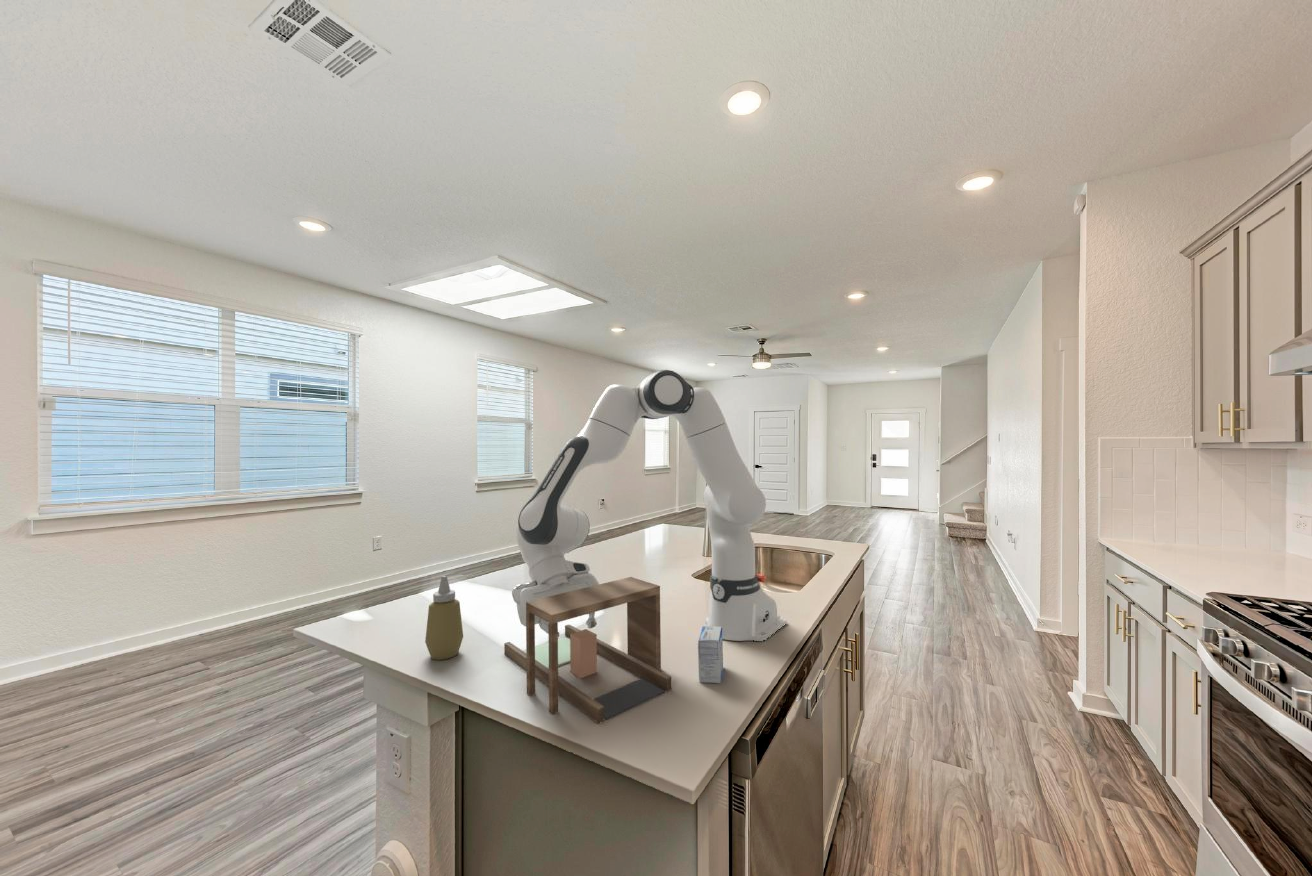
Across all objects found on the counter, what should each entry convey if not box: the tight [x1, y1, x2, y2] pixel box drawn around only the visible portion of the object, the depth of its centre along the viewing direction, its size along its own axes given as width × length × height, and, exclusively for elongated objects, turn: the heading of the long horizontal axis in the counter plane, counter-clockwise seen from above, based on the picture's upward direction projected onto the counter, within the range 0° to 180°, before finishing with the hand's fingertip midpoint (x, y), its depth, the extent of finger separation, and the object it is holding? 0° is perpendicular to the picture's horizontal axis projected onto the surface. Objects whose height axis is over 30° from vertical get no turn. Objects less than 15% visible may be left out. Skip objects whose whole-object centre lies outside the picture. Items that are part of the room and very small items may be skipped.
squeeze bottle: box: [424, 575, 464, 661], centre depth 112 cm, size 8×8×18 cm
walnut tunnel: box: [503, 576, 672, 724], centre depth 103 cm, size 26×38×18 cm
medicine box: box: [697, 625, 724, 684], centre depth 101 cm, size 8×4×9 cm, turn 168°
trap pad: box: [593, 677, 666, 721], centre depth 92 cm, size 14×7×1 cm, turn 131°
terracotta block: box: [569, 628, 598, 679], centre depth 103 cm, size 4×4×8 cm
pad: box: [522, 636, 570, 668], centre depth 112 cm, size 13×12×1 cm
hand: (574, 632), depth 105 cm, fingers open, 8 cm apart
